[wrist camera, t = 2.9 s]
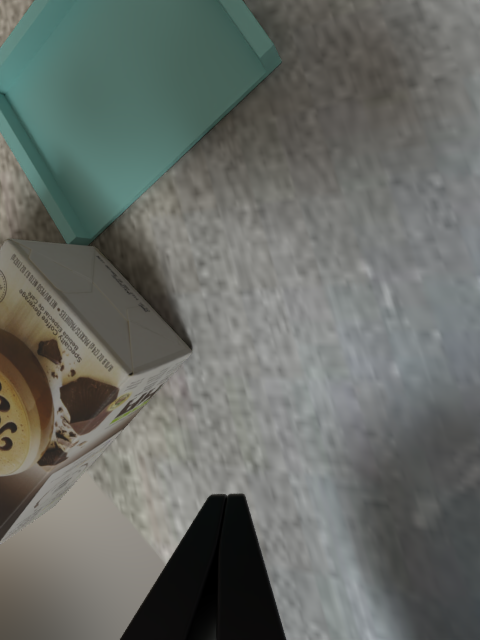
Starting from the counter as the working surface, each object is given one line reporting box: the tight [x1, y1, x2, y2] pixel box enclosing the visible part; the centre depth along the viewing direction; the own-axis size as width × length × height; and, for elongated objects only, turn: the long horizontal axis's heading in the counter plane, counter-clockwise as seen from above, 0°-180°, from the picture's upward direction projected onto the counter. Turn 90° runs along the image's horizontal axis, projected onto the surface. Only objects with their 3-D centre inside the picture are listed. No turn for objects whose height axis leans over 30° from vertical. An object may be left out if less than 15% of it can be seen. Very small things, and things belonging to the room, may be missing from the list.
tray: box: [0, 0, 282, 246], centre depth 21 cm, size 12×15×2 cm
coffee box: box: [0, 239, 192, 544], centre depth 22 cm, size 9×6×16 cm
